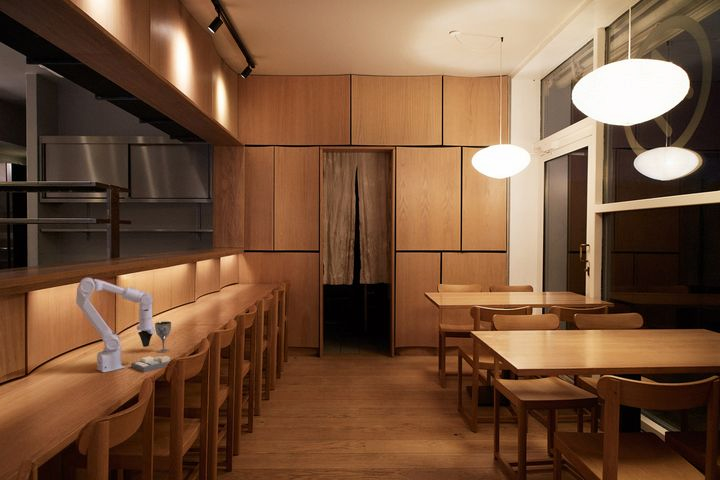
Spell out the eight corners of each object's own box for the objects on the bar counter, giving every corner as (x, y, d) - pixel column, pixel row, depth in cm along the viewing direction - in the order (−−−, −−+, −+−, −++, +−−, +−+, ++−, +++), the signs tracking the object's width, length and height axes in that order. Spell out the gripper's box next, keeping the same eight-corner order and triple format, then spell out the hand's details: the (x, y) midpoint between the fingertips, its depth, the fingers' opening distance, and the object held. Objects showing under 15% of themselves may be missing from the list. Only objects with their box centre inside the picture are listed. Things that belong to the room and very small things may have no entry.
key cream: (145, 363, 212) (145, 359, 212) (141, 362, 214) (141, 358, 214) (153, 361, 215) (153, 357, 215) (149, 360, 217) (149, 356, 217)
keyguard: (144, 372, 204) (144, 367, 204) (131, 367, 212) (131, 362, 212) (174, 364, 216) (174, 359, 216) (161, 359, 223) (161, 355, 223)
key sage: (156, 363, 216) (156, 359, 216) (152, 362, 218) (152, 358, 218) (164, 361, 219) (164, 357, 219) (160, 360, 221) (160, 356, 221)
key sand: (161, 363, 212) (161, 359, 212) (157, 361, 215) (157, 357, 215) (170, 361, 216) (169, 357, 216) (165, 359, 218) (165, 355, 218)
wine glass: (151, 351, 238) (151, 323, 238) (164, 348, 245) (164, 320, 245) (162, 353, 234) (161, 325, 234) (174, 350, 241) (174, 322, 241)
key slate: (151, 368, 208) (151, 364, 208) (146, 366, 211) (146, 362, 211) (159, 366, 212) (159, 362, 211) (155, 364, 214) (155, 360, 214)
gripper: (161, 318, 215) (161, 347, 215) (146, 315, 224) (147, 342, 224) (146, 321, 209) (146, 350, 210) (132, 317, 219) (132, 345, 219)
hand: (145, 346), depth 217 cm, fingers closed
